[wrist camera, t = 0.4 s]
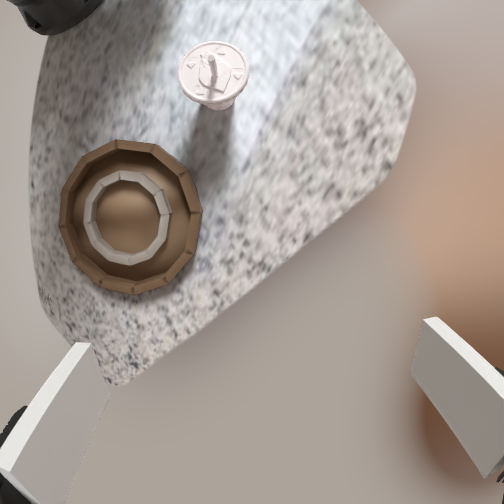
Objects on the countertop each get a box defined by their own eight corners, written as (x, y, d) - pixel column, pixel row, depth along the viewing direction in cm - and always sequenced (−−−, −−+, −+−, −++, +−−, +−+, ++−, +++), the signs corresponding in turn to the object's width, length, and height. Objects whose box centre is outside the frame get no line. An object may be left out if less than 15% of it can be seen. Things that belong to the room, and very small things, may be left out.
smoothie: (205, 130, 33) (184, 104, 19) (184, 85, 31) (154, 40, 18) (255, 108, 32) (266, 70, 19) (233, 64, 31) (231, 8, 17)
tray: (54, 177, 33) (43, 179, 30) (173, 120, 32) (168, 116, 29) (101, 299, 38) (93, 308, 35) (221, 260, 37) (220, 267, 34)
